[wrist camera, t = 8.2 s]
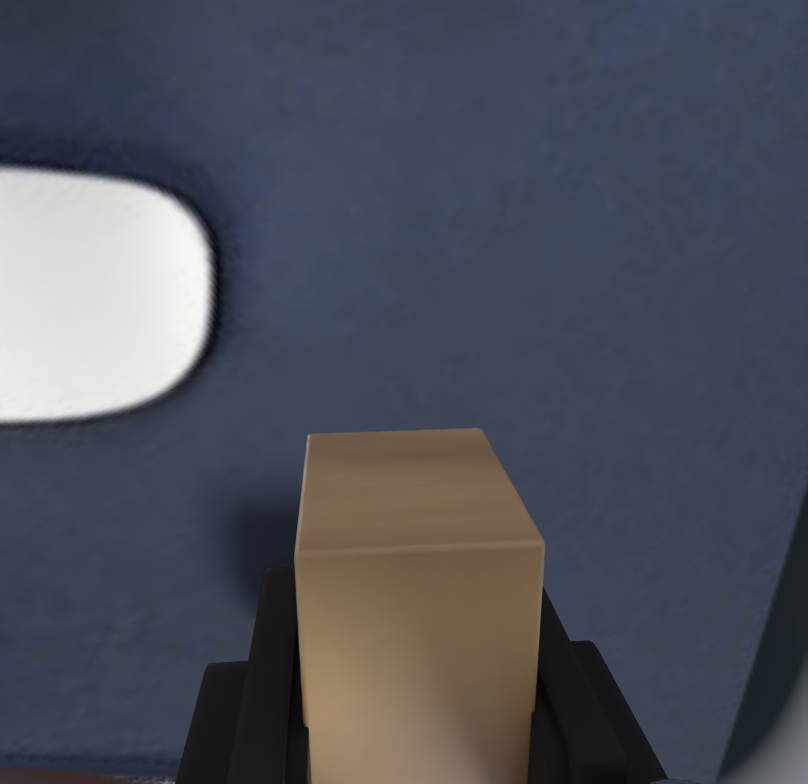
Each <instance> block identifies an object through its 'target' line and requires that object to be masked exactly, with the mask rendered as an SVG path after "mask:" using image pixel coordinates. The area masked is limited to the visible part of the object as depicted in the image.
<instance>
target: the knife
mask: <svg viewBox="0 0 808 784" xmlns="http://www.w3.org/2000/svg"><path fill="white" fill-rule="evenodd" d="M544 555H545V542H544V540H543V538H542V536H541V534H540V533H539V531H538V529H537V527H536V525H535V524H534V522H533V520H532V518H531V516H530V515H529V513H528V511H527V509H526V507H525V506H524V504H523V502H522V500H521V498H520V497H519V495H518V493H517V491H516V489H515V488H514V486H513V484H512V482H511V481H510V479H509V477H508V475H507V473H506V472H505V470H504V468H503V466H502V464H501V463H500V461H499V459H498V457H497V455H496V454H495V452H494V450H493V448H492V446H491V445H490V443H489V441H488V439H487V438H486V436H485V434H484V432H483V430H482V429H480V428H468V429H439V430H410V431H381V432H353V433H324V434H311V435H308V438H307V445H306V454H305V463H304V472H303V481H302V489H301V498H300V507H299V516H298V525H297V534H296V543H295V552H294V565H295V582H296V600H297V618H298V636H299V654H300V672H301V690H302V708H303V724H304V726H305V727H307V728H309V743H310V763H311V782H312V784H527V780H528V764H529V748H530V732H531V716H532V712H534V711H535V700H536V684H537V668H538V652H539V636H540V620H541V604H542V588H543V572H544Z"/></svg>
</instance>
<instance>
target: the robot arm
mask: <svg viewBox="0 0 808 784" xmlns="http://www.w3.org/2000/svg"><path fill="white" fill-rule="evenodd" d="M175 784H312V782H311V763H310V743H309V728H307V727H305V726H304V724H303V708H302V690H301V672H300V654H299V636H298V618H297V600H296V582H295V567H281V568H266V569H265V572H264V577H263V582H262V588H261V594H260V599H259V605H258V610H257V616H256V621H255V627H254V632H253V638H252V644H251V649H250V655H249V660H248V661H237V662H220V663H209V664H208V665H207V667H206V670H205V673H204V676H203V680H202V684H201V688H200V691H199V695H198V699H197V703H196V707H195V710H194V714H193V718H192V722H191V726H190V729H189V733H188V737H187V741H186V745H185V748H184V752H183V756H182V760H181V764H180V767H179V771H178V775H177V779H176V783H175ZM527 784H700V783H697V782H694V781H690V780H678V779H668V777H667V776H666V774H665V772H664V770H663V768H662V766H661V765H660V763H659V761H658V759H657V757H656V755H655V753H654V752H653V750H652V748H651V746H650V744H649V742H648V741H647V739H646V737H645V735H644V733H643V731H642V730H641V728H640V726H639V724H638V722H637V720H636V718H635V717H634V715H633V713H632V711H631V709H630V707H629V706H628V704H627V702H626V700H625V698H624V696H623V695H622V693H621V691H620V689H619V687H618V685H617V683H616V682H615V680H614V678H613V676H612V674H611V672H610V671H609V669H608V667H607V665H606V663H605V661H604V660H603V658H602V656H601V654H600V652H599V650H598V649H597V647H596V646H595V645H594V643H593V642H591V641H589V640H588V641H571V642H570V640H569V638H568V636H567V634H566V632H565V630H564V628H563V626H562V624H561V622H560V620H559V618H558V616H557V613H556V611H555V609H554V607H553V605H552V603H551V601H550V599H549V597H548V595H547V593H546V591H545V589H544V587H543V588H542V604H541V620H540V636H539V652H538V668H537V684H536V700H535V711H534V712H532V716H531V732H530V748H529V764H528V780H527Z"/></svg>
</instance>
